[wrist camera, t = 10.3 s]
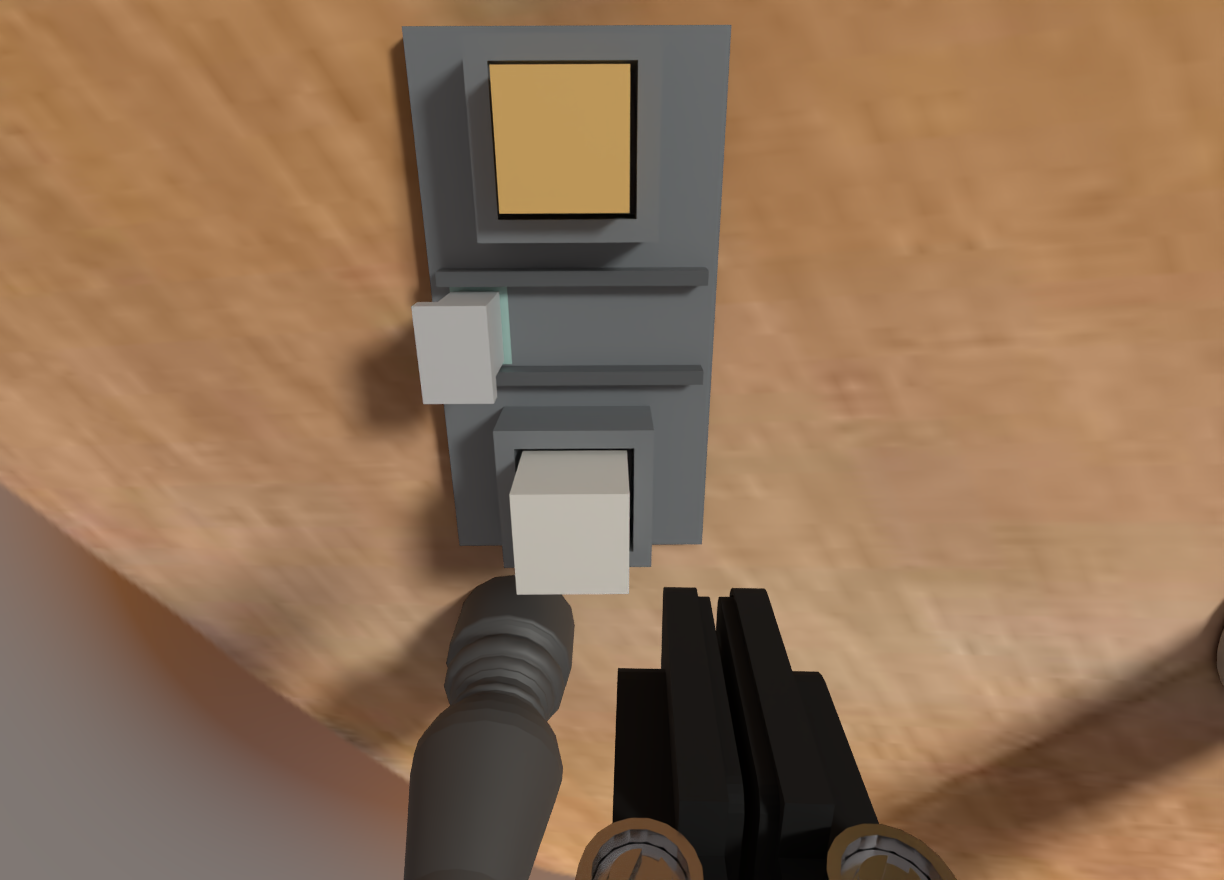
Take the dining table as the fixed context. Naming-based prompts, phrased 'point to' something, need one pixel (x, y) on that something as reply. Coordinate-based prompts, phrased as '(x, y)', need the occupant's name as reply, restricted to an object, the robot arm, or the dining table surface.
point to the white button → (571, 522)
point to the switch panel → (582, 271)
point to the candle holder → (492, 740)
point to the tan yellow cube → (562, 137)
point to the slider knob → (459, 347)
